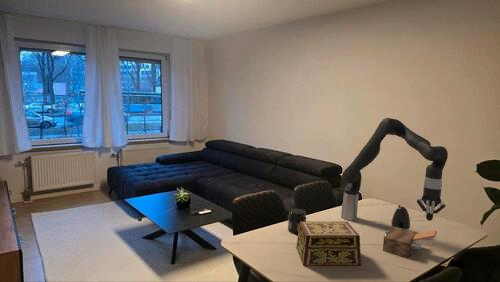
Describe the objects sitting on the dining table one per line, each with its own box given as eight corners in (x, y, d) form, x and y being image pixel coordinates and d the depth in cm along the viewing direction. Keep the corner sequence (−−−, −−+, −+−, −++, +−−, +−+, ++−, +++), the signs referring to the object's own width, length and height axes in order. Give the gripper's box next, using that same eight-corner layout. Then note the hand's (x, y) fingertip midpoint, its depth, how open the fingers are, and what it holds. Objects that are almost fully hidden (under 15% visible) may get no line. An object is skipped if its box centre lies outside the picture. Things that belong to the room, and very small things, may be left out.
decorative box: (347, 247, 168) (349, 220, 166) (361, 266, 150) (363, 236, 148) (295, 247, 167) (297, 220, 165) (303, 266, 149) (304, 236, 146)
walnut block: (382, 250, 165) (383, 236, 164) (391, 238, 179) (392, 225, 178) (408, 258, 158) (410, 243, 157) (416, 245, 172) (417, 231, 171)
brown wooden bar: (383, 244, 171) (384, 234, 170) (386, 240, 175) (387, 230, 174) (418, 254, 160) (420, 243, 159) (421, 250, 165) (422, 239, 164)
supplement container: (309, 233, 185) (310, 213, 184) (293, 235, 181) (294, 215, 180) (299, 226, 195) (300, 207, 193) (284, 228, 191) (285, 209, 189)
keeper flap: (412, 239, 160) (433, 235, 154) (416, 233, 167) (436, 230, 161) (413, 240, 160) (434, 237, 154) (416, 235, 166) (437, 232, 160)
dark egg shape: (405, 227, 195) (407, 204, 193) (412, 235, 185) (414, 210, 183) (388, 227, 196) (390, 203, 194) (394, 234, 186) (396, 209, 184)
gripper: (416, 185, 157) (413, 219, 160) (447, 190, 149) (443, 225, 152) (419, 182, 163) (416, 215, 165) (449, 187, 155) (445, 221, 157)
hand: (429, 220), depth 158 cm, fingers closed
